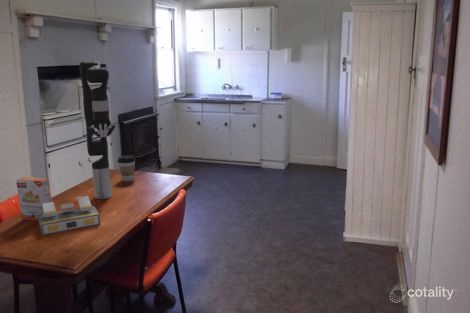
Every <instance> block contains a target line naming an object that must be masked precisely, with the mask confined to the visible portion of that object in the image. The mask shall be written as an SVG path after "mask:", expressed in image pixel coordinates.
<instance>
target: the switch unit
mask: <svg viewBox="0 0 470 313" xmlns="http://www.w3.org/2000/svg"><path fill="white" fill-rule="evenodd" d="M91 206H92V210H89V211H83V212H81V210H80V207H79V208H74V209H73V208H72V209H66V210H61V211H56V215H57V216H51V217H46V218H45V216H44V214H43V215H38V220H39V221H38V226H39V230H40V233H41V234H40V235H41V236H46V235H50V234H55V233H61V232H66V231H72V230H78V229H83V228H87V227H93V226H99V225H101V214H100V212H99V211H98V210H97V207H95V206H94V205H91Z"/></svg>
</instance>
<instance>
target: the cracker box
mask: <svg viewBox="0 0 470 313" xmlns="http://www.w3.org/2000/svg"><path fill="white" fill-rule="evenodd" d="M16 186H17V187H16V189H17V194H18V203H19V210H20V216H21V220H22V221H33V222H39V220H38V215H43V214H44V211H43V206H42V204H43V203H49V202H52V196H51V195H52V194H51V189H50V187H51V186H50V180H49V178H48V177H31V176H28V177H27V176H23V177H21V178H18V179H16Z"/></svg>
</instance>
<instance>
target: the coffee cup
mask: <svg viewBox="0 0 470 313" xmlns="http://www.w3.org/2000/svg"><path fill="white" fill-rule="evenodd" d="M117 163H118V166H119V172H120V175H121V180H122V182H133V181H134V179H135V169H136V165H135V164H136V157H135V156H134V155H130V154H129V155H121V156H119V157H118V159H117Z"/></svg>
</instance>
